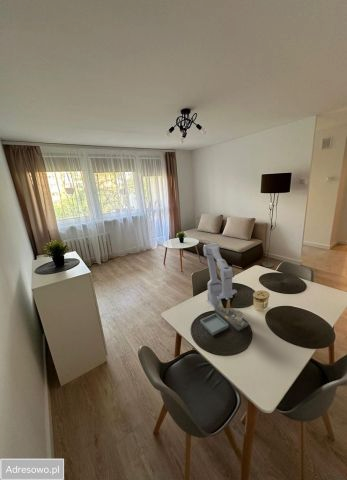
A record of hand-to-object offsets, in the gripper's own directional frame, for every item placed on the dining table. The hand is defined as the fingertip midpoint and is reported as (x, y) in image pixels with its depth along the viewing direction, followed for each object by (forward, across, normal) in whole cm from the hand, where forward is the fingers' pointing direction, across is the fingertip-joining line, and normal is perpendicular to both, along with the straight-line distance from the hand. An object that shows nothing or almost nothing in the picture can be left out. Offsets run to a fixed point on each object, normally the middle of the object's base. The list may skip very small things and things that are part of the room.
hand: (226, 306), depth 117 cm
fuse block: (+10, +3, 0) cm, 10 cm away
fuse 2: (+8, +3, -8) cm, 11 cm away
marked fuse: (+2, 0, 0) cm, 2 cm away
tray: (+10, -10, 0) cm, 14 cm away
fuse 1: (+8, +3, +8) cm, 12 cm away
